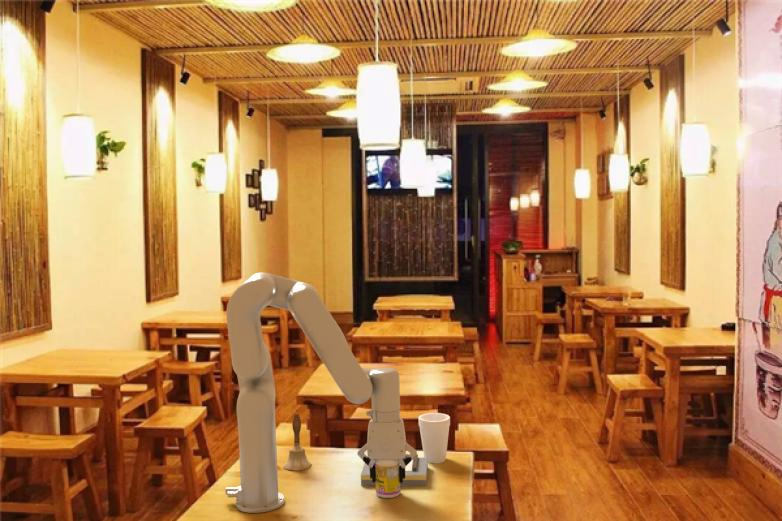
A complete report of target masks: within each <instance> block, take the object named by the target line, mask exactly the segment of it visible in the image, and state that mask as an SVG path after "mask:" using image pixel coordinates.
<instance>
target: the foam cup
mask: <svg viewBox="0 0 782 521" xmlns="http://www.w3.org/2000/svg"><path fill="white" fill-rule="evenodd" d="M417 418H418V427H419V432H420V433H419V434H420V438H421V446H422V453H423V458H428V463H431V464H440V463H443V462H445V461H446V460H447V450H448V443H449V441H448V440H449V432H450V431H449V430H450V426H451V416H449V414H446V413H441V412H429V413H423V414H420V415H419V416H418V417H417Z"/></svg>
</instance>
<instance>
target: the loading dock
mask: <svg viewBox="0 0 782 521" xmlns="http://www.w3.org/2000/svg"><path fill="white" fill-rule="evenodd" d="M428 463H429V462H428V458H424V457H418V462H417V470H416V471H412V464H413V459H412V460H411V462H410V463H409V464H408V465H407V466H406V467H405V479H403V483H400V487H401V486H402V487H403V486H404V487H406V486H408V487H409V486H412V487H413V486H414V487H415V486H416V487H417V486H419V487H422V486H423V487H424V486H425V487H426V486H427V485H428V484H427V483H428V481H427V480H428V471H429V470H428V469H429V464H428ZM360 485H361V486H376V483H375V482H374V483H372V479H370V468H369V467H368V465H367V464H366V463H365V462H364V464H363V467H362V470H361V474H360Z"/></svg>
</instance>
